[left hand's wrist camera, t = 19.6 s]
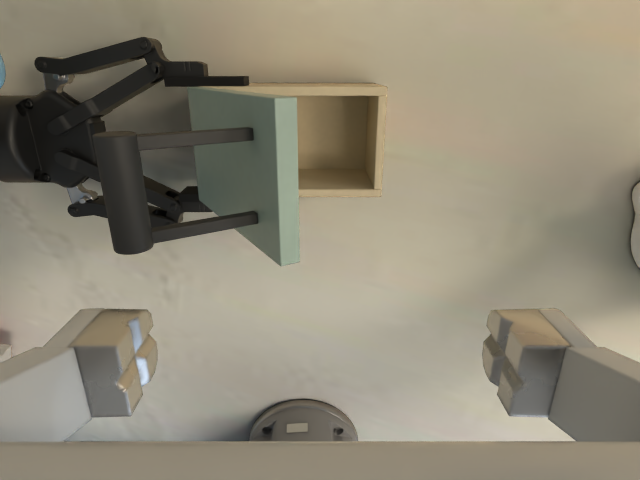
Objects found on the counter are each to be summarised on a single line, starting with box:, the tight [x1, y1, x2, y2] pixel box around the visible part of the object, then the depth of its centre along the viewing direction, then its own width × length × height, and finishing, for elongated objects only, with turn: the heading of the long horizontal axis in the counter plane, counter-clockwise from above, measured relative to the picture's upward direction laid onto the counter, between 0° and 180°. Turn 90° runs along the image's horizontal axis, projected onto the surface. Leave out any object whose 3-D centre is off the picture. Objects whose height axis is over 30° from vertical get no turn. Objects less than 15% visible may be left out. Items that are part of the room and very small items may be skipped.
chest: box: [199, 83, 387, 197], centre depth 40 cm, size 15×9×9 cm, turn 90°
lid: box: [92, 87, 300, 266], centre depth 27 cm, size 16×9×9 cm
